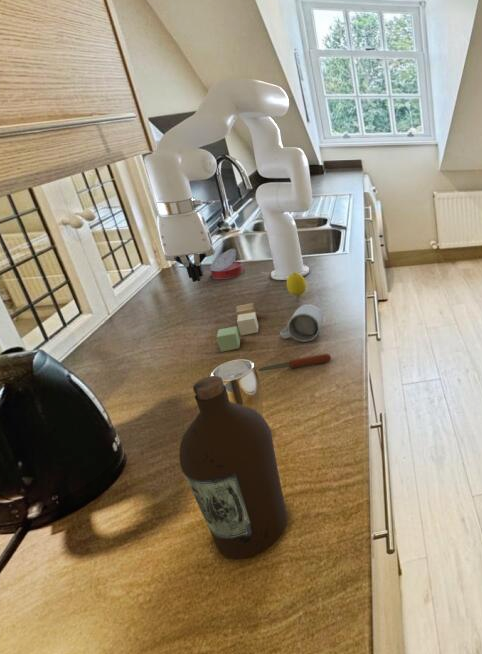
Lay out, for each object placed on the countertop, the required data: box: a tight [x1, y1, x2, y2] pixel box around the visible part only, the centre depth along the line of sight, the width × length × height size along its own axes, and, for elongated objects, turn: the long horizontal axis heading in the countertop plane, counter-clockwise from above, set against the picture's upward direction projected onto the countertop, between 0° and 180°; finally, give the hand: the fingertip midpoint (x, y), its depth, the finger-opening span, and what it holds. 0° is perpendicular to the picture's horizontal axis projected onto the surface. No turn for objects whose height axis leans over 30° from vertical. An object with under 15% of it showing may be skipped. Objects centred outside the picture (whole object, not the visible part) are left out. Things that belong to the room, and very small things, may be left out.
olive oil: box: [178, 375, 288, 560], centre depth 60 cm, size 11×11×25 cm
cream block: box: [236, 311, 259, 336], centre depth 120 cm, size 4×4×4 cm
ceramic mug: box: [279, 303, 324, 343], centre depth 116 cm, size 11×8×8 cm
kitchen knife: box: [257, 353, 332, 372], centre depth 103 cm, size 16×1×2 cm, turn 107°
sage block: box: [216, 325, 242, 353], centre depth 112 cm, size 4×4×4 cm
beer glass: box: [210, 358, 265, 419], centre depth 78 cm, size 7×7×15 cm
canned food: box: [209, 248, 244, 280], centre depth 159 cm, size 11×10×10 cm
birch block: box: [235, 302, 257, 317], centre depth 125 cm, size 4×4×4 cm
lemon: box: [286, 272, 307, 298], centre depth 138 cm, size 6×6×8 cm
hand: (197, 279), depth 113 cm, fingers closed
